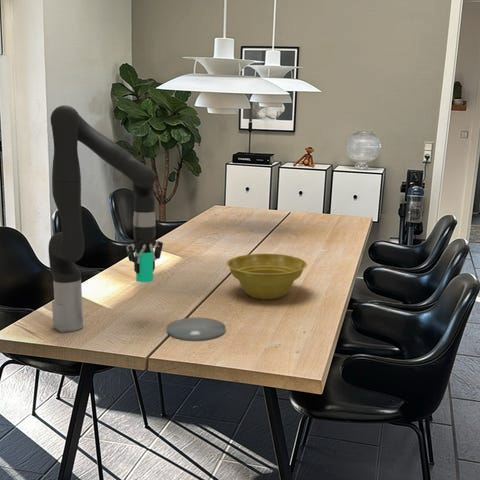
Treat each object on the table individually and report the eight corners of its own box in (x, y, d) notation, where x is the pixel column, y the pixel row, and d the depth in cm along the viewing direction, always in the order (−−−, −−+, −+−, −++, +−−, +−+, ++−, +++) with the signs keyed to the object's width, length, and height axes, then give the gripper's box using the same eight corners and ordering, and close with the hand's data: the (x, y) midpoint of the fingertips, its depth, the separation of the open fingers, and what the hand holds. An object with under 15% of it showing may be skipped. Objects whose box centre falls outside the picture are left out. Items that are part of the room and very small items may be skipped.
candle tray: (189, 345, 217) (189, 341, 217) (155, 328, 232) (155, 325, 232) (237, 332, 229) (237, 328, 229) (202, 317, 244) (202, 313, 244)
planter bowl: (245, 311, 252) (246, 276, 249) (214, 288, 281) (214, 257, 278) (320, 301, 265) (321, 268, 262) (283, 280, 293) (283, 250, 290)
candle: (145, 276, 239) (145, 244, 237) (156, 280, 235) (156, 246, 233) (132, 280, 235) (132, 246, 232) (144, 283, 231) (143, 249, 228)
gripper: (131, 227, 224) (132, 277, 227) (168, 223, 233) (167, 271, 236) (120, 224, 229) (121, 272, 233) (156, 220, 238) (156, 267, 242)
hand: (144, 272), depth 234 cm, fingers closed on candle, 4 cm apart
